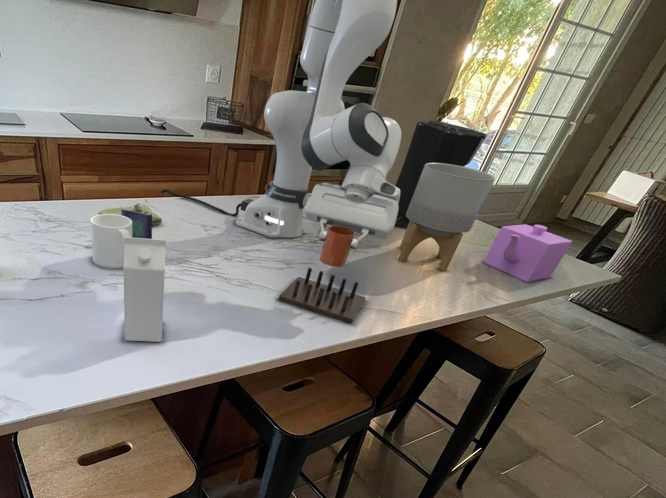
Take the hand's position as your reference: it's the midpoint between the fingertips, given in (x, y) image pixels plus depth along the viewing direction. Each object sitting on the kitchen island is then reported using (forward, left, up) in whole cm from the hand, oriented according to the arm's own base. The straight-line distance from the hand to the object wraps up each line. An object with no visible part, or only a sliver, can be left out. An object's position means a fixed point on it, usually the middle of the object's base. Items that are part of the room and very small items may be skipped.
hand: (337, 243), depth 97 cm
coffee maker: (+7, +94, -15) cm, 95 cm away
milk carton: (-26, -38, -15) cm, 48 cm away
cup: (0, +1, -4) cm, 4 cm away
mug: (-51, -15, -15) cm, 55 cm away
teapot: (+46, +66, -15) cm, 82 cm away
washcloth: (-67, +13, -15) cm, 69 cm away
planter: (+18, +53, -15) cm, 58 cm away
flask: (-55, 0, -15) cm, 57 cm away
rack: (0, +1, -14) cm, 15 cm away
